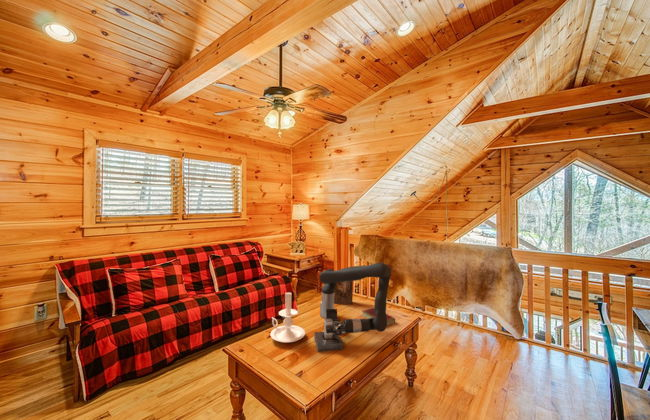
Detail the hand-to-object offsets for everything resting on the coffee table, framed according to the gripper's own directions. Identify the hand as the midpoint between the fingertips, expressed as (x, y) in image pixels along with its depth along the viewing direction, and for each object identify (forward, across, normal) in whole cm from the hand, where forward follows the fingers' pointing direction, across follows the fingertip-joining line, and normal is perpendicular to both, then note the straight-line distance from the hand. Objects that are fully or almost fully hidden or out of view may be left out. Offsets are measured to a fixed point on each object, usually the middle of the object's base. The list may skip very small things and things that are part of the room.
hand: (325, 327), depth 157 cm
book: (-24, -61, +10) cm, 66 cm away
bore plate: (-2, 0, +10) cm, 10 cm away
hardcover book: (-43, -28, +11) cm, 52 cm away
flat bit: (-7, -16, +10) cm, 20 cm away
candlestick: (+22, -11, +10) cm, 27 cm away
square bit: (-2, 0, +10) cm, 10 cm away
